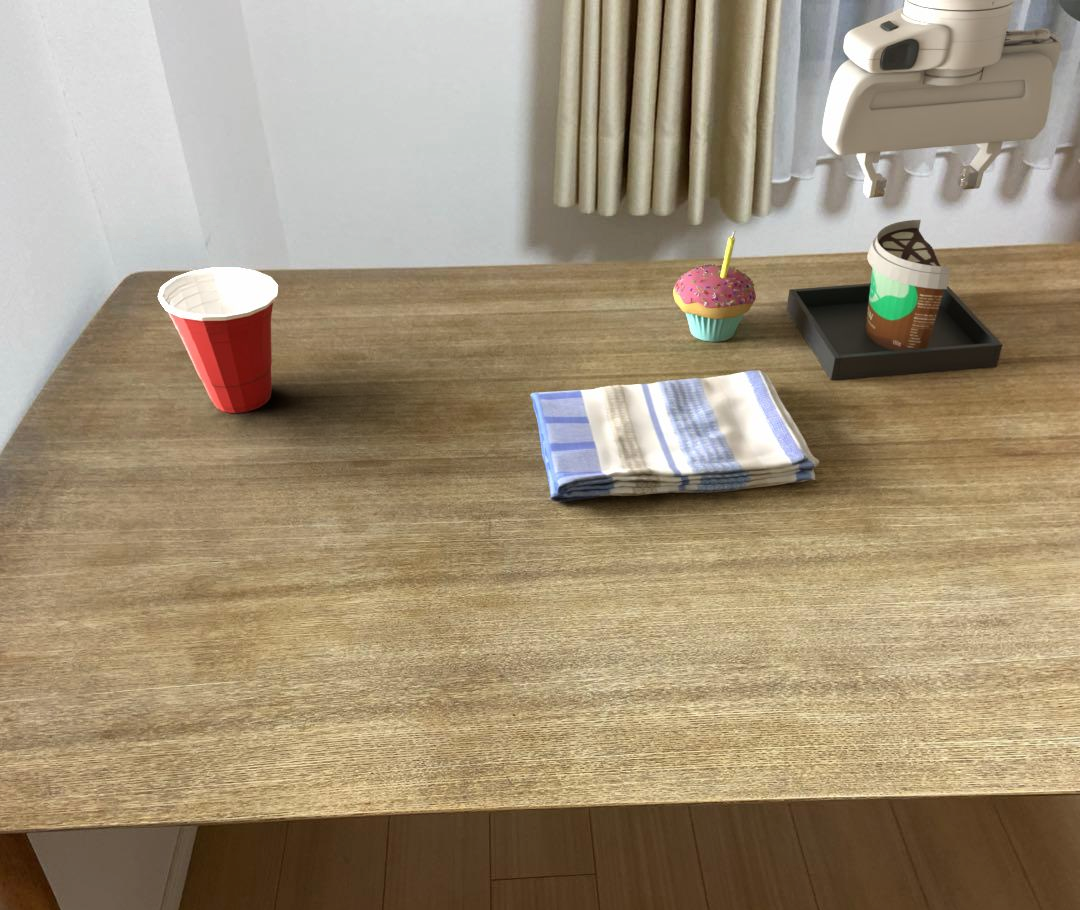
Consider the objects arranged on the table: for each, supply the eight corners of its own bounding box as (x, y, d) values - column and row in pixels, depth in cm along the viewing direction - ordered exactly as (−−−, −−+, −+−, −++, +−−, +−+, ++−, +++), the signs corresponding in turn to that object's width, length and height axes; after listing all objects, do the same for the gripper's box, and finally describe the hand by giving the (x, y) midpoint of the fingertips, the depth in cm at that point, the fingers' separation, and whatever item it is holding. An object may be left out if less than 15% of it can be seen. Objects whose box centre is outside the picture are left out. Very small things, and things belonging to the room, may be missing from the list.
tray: (935, 298, 114) (940, 277, 113) (996, 366, 103) (1003, 344, 101) (786, 310, 113) (789, 289, 112) (830, 380, 102) (834, 358, 100)
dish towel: (820, 487, 88) (825, 461, 86) (550, 511, 87) (550, 485, 85) (765, 384, 101) (768, 359, 100) (530, 403, 100) (529, 378, 98)
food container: (843, 306, 113) (859, 218, 106) (900, 305, 112) (919, 217, 106) (867, 362, 103) (886, 269, 97) (928, 362, 103) (952, 269, 96)
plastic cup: (308, 413, 99) (285, 301, 92) (195, 437, 97) (161, 323, 89) (290, 361, 107) (267, 254, 100) (184, 382, 105) (153, 273, 97)
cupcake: (767, 335, 109) (781, 227, 101) (707, 359, 105) (717, 249, 98) (713, 306, 114) (723, 201, 107) (654, 327, 111) (660, 221, 103)
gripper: (1048, 18, 92) (1010, 170, 101) (827, 35, 91) (808, 188, 100) (1084, 35, 87) (1040, 194, 96) (851, 53, 86) (829, 212, 95)
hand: (920, 191), depth 98 cm, fingers open, 8 cm apart
